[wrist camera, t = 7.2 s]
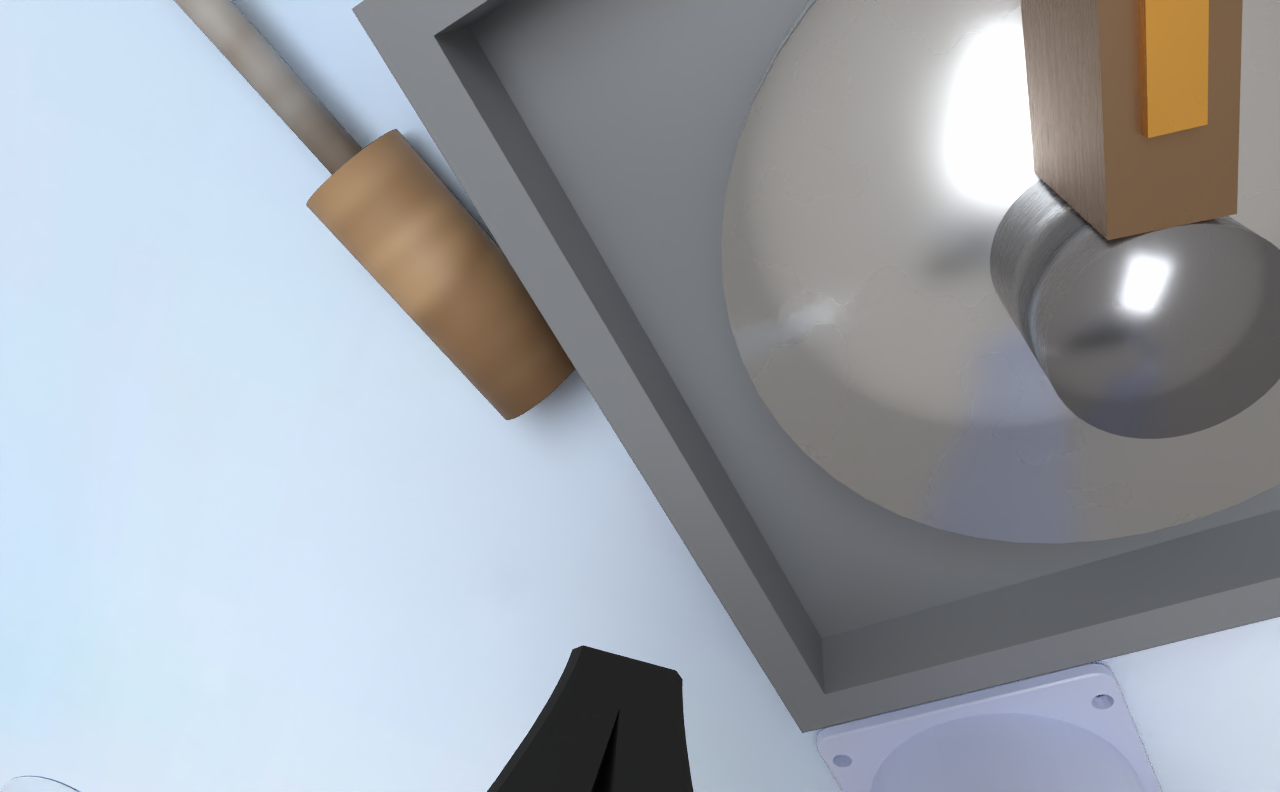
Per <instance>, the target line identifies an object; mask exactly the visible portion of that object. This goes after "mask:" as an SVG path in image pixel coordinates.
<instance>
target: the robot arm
mask: <svg viewBox="0 0 1280 792" xmlns="http://www.w3.org/2000/svg"><path fill="white" fill-rule="evenodd" d="M1105 694H1106V695H1105ZM1098 695H1104V696H1101V697H1096V696H1098ZM817 748H818V751H819V753H820V755H821V757H822V758H823V760H824V761H825V763H826V765H827V766H828V768H829V769H830V771H831V773H832V774H833V776H834V778H835V779H836V781H837V782H838V784H839V786H840V787H841V789H842V790H843V792H1162V790H1161V788H1160V785H1159V783H1158V780H1157V778H1156V776H1155V773H1154V771H1153V768H1152V766H1151V763H1150V761H1149V759H1148V756H1147V754H1146V751H1145V749H1144V746H1143V744H1142V741H1141V739H1140V737H1139V734H1138V732H1137V729H1136V727H1135V724H1134V722H1133V720H1132V717H1131V715H1130V712H1129V710H1128V707H1127V705H1126V702H1125V700H1124V698H1123V695H1122V693H1121V690H1120V688H1119V685H1118V683H1117V681H1116V678H1115V676H1114V674H1113V672H1112V671H1111V670H1110V668H1108V667H1106V666H1104V665H1100V664H1087V665H1083V666H1079V667H1074V668H1070V669H1066V670H1062V671H1058V672H1054V673H1050V674H1046V675H1042V676H1037V677H1033V678H1029V679H1025V680H1021V681H1017V682H1013V683H1009V684H1005V685H1000V686H996V687H992V688H988V689H984V690H980V691H976V692H972V693H968V694H963V695H959V696H955V697H951V698H947V699H943V700H939V701H935V702H931V703H926V704H922V705H918V706H914V707H910V708H906V709H902V710H898V711H894V712H889V713H885V714H881V715H877V716H873V717H869V718H865V719H861V720H857V721H852V722H848V723H844V724H840V725H836V726H832V727H828V728H826V729H823V730H821V731H820V732H819V733H818V736H817ZM840 755H844V756H840ZM487 792H693V787H692V781H691V774H690V767H689V760H688V753H687V745H686V736H685V727H684V715H683V698H682V678H681V677H680V675H679V674H678V672H677V671H675V670H672V669H668V668H664V667H661V666H657V665H653V664H650V663H646V662H642V661H639V660H635V659H631V658H628V657H624V656H620V655H616V654H613V653H609V652H605V651H602V650H598V649H594V648H591V647H587V646H580V647H578V648H575V649H573V650H572V653H571V655H570V658H569V660H568V663H567V665H566V667H565V670H564V672H563V674H562V676H561V678H560V680H559V682H558V684H557V685H556V687H555V689H554V691H553V693H552V695H551V696H550V698H549V700H548V702H547V703H546V705H545V707H544V708H543V710H542V712H541V713H540V715H539V716H538V718H537V720H536V721H535V723H534V725H533V726H532V728H531V729H530V731H529V733H528V734H527V735H526V737H525V738H524V740H523V741H522V743H521V744H520V746H519V747H518V749H517V750H516V751H515V753H514V754H513V756H512V757H511V759H510V760H509V762H508V763H507V764H506V766H505V767H504V769H503V770H502V772H501V773H500V775H499V776H498V777H497V779H496V780H495V782H494V783H493V784H492V786H491V787H490V788H489V790H488V791H487Z"/></svg>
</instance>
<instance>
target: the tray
mask: <svg viewBox="0 0 1280 792" xmlns="http://www.w3.org/2000/svg"><path fill="white" fill-rule="evenodd" d="M808 1H809V0H364V1H363V2H361V3H360V4H358V5H357V6H355V7H354V8H353V9H352V10H353V12H354V13H355V15H356V17H357V18H358V20H359V21H360V23H361V25H362V26H363V28H364V29H365V31H366V33H367V34H368V36H369V37H370V39H371V41H372V42H373V44H374V45H375V47H376V49H377V50H378V52H379V53H380V55H381V57H382V58H383V60H384V62H385V63H386V65H387V66H388V68H389V70H390V71H391V73H392V74H393V76H394V78H395V79H396V81H397V82H398V84H399V86H400V87H401V89H402V90H403V92H404V94H405V95H406V97H407V98H408V100H409V102H410V103H411V105H412V107H413V108H414V110H415V111H416V113H417V115H418V116H419V118H420V119H421V121H422V123H423V124H424V126H425V127H426V129H427V131H428V132H429V134H430V135H431V137H432V139H433V140H434V142H435V143H436V145H437V147H438V148H439V150H440V152H441V153H442V155H443V156H444V158H445V160H446V161H447V163H448V164H449V166H450V168H451V169H452V171H453V172H454V174H455V176H456V177H457V179H458V180H459V182H460V184H461V185H462V187H463V188H464V190H465V192H466V193H467V195H468V197H469V198H470V200H471V201H472V203H473V205H474V206H475V208H476V209H477V211H478V213H479V214H480V216H481V217H482V219H483V221H484V222H485V224H486V225H487V227H488V229H489V230H490V232H491V233H492V235H493V237H494V238H495V240H496V242H497V243H498V245H499V246H500V248H501V250H502V251H503V253H504V254H505V256H506V258H507V259H508V261H509V262H510V264H511V266H512V267H513V269H514V270H515V272H516V274H517V275H518V277H519V278H520V280H521V282H522V283H523V285H524V287H525V288H526V290H527V291H528V293H529V295H530V296H531V298H532V299H533V301H534V303H535V304H536V306H537V307H538V309H539V311H540V312H541V314H542V315H543V317H544V319H545V320H546V322H547V323H548V325H549V327H550V328H551V330H552V332H553V333H554V335H555V336H556V338H557V340H558V341H559V343H560V344H561V346H562V348H563V349H564V351H565V352H566V354H567V356H568V357H569V359H570V360H571V362H572V364H573V365H574V367H575V368H576V370H577V372H578V373H579V375H580V377H581V378H582V380H583V381H584V383H585V385H586V386H587V388H588V389H589V391H590V393H591V394H592V396H593V397H594V399H595V401H596V402H597V404H598V405H599V407H600V409H601V410H602V412H603V413H604V415H605V417H606V418H607V420H608V422H609V423H610V425H611V426H612V428H613V430H614V431H615V433H616V434H617V436H618V438H619V439H620V441H621V442H622V444H623V446H624V447H625V449H626V450H627V452H628V454H629V455H630V457H631V458H632V460H633V462H634V463H635V465H636V467H637V468H638V470H639V471H640V473H641V475H642V476H643V478H644V479H645V481H646V483H647V484H648V486H649V487H650V489H651V491H652V492H653V494H654V495H655V497H656V499H657V500H658V502H659V503H660V505H661V507H662V508H663V510H664V512H665V513H666V515H667V516H668V518H669V520H670V521H671V523H672V524H673V526H674V528H675V529H676V531H677V532H678V534H679V536H680V537H681V539H682V540H683V542H684V544H685V545H686V547H687V548H688V550H689V552H690V553H691V555H692V557H693V558H694V560H695V561H696V563H697V565H698V566H699V568H700V569H701V571H702V573H703V574H704V576H705V577H706V579H707V581H708V582H709V584H710V585H711V587H712V589H713V590H714V592H715V593H716V595H717V597H718V598H719V600H720V601H721V603H722V605H723V606H724V608H725V610H726V611H727V613H728V614H729V616H730V618H731V619H732V621H733V622H734V624H735V626H736V627H737V629H738V630H739V632H740V634H741V635H742V637H743V638H744V640H745V642H746V643H747V645H748V646H749V648H750V650H751V651H752V653H753V655H754V656H755V658H756V659H757V661H758V663H759V664H760V666H761V667H762V669H763V671H764V672H765V674H766V675H767V677H768V679H769V680H770V682H771V683H772V685H773V687H774V688H775V690H776V691H777V693H778V695H779V696H780V698H781V700H782V701H783V703H784V704H785V706H786V708H787V709H788V711H789V712H790V714H791V716H792V717H793V719H794V720H795V722H796V724H797V725H798V727H799V728H800V730H801V732H802V733H804V732H808V731H813V730H817V729H821V728H825V727H829V726H833V725H837V724H841V723H845V722H849V721H854V720H858V719H862V718H866V717H870V716H874V715H878V714H882V713H886V712H891V711H895V710H899V709H903V708H907V707H911V706H915V705H919V704H923V703H927V702H932V701H936V700H940V699H944V698H948V697H952V696H956V695H960V694H964V693H969V692H973V691H977V690H981V689H985V688H989V687H993V686H997V685H1001V684H1005V683H1010V682H1014V681H1018V680H1022V679H1026V678H1030V677H1034V676H1038V675H1042V674H1047V673H1051V672H1055V671H1059V670H1063V669H1067V668H1071V667H1075V666H1079V665H1083V664H1088V663H1092V662H1096V661H1100V660H1104V659H1108V658H1112V657H1116V656H1120V655H1125V654H1129V653H1133V652H1137V651H1141V650H1145V649H1149V648H1153V647H1157V646H1161V645H1166V644H1170V643H1174V642H1178V641H1182V640H1186V639H1190V638H1194V637H1198V636H1203V635H1207V634H1211V633H1215V632H1219V631H1223V630H1227V629H1231V628H1235V627H1239V626H1244V625H1248V624H1252V623H1256V622H1260V621H1264V620H1268V619H1272V618H1276V617H1280V484H1279V485H1277V486H1275V487H1273V488H1271V489H1268V490H1266V491H1264V492H1262V493H1260V494H1258V495H1256V496H1254V497H1252V498H1249V499H1247V500H1245V501H1243V502H1241V503H1239V504H1237V505H1234V506H1231V507H1229V508H1226V509H1223V510H1220V511H1218V512H1215V513H1212V514H1210V515H1207V516H1204V517H1201V518H1199V519H1196V520H1193V521H1190V522H1186V523H1182V524H1179V525H1175V526H1171V527H1167V528H1163V529H1160V530H1156V531H1152V532H1148V533H1143V534H1138V535H1132V536H1126V537H1120V538H1114V539H1108V540H1102V541H1088V542H1074V543H1060V544H1054V543H1016V542H1008V541H1000V540H992V539H984V538H976V537H971V536H967V535H963V534H959V533H954V532H950V531H946V530H942V529H937V528H934V527H931V526H929V525H926V524H923V523H920V522H917V521H914V520H912V519H909V518H906V517H903V516H900V515H898V514H896V513H894V512H892V511H890V510H888V509H886V508H884V507H882V506H880V505H878V504H876V503H874V502H872V501H870V500H867V499H865V498H864V497H862V496H861V495H859V494H858V493H856V492H855V491H853V490H852V489H850V488H848V487H847V486H845V485H844V484H842V483H841V482H839V481H838V480H836V479H835V478H833V477H832V476H831V475H830V474H829V473H827V472H826V471H825V470H824V469H823V468H821V467H820V466H819V465H818V464H817V463H816V462H814V461H813V460H812V459H811V458H810V457H809V456H807V455H806V454H805V453H804V452H803V451H802V450H801V448H800V447H799V446H798V445H797V444H796V443H795V442H794V441H793V440H792V439H791V437H790V436H789V435H788V434H787V433H786V432H785V431H784V430H783V429H782V427H781V426H780V425H779V424H778V422H777V421H776V419H775V418H774V416H773V415H772V413H771V412H770V410H769V409H768V407H767V406H766V404H765V403H764V402H763V400H762V399H761V397H760V396H759V394H758V392H757V390H756V388H755V386H754V384H753V382H752V380H751V378H750V376H749V374H748V372H747V370H746V368H745V366H744V364H743V362H742V359H741V356H740V353H739V350H738V347H737V344H736V341H735V338H734V335H733V332H732V329H731V326H730V322H729V317H728V311H727V305H726V300H725V294H724V289H723V283H722V258H721V233H722V223H723V213H724V202H725V194H726V190H727V186H728V181H729V177H730V173H731V168H732V164H733V160H734V155H735V151H736V147H737V142H738V138H739V134H740V130H741V127H742V125H743V122H744V119H745V116H746V114H747V111H748V108H749V106H750V103H751V100H752V98H753V95H754V92H755V89H756V87H757V85H758V83H759V81H760V79H761V77H762V75H763V74H764V72H765V70H766V68H767V66H768V64H769V62H770V60H771V58H772V56H773V54H774V52H775V50H776V48H777V46H778V45H779V43H780V42H781V40H782V39H783V37H784V36H785V34H786V33H787V31H788V30H789V28H790V27H791V26H792V24H793V23H794V21H795V20H796V18H797V17H798V15H799V14H800V12H801V11H802V9H803V8H804V6H805V5H806V3H807V2H808Z"/></svg>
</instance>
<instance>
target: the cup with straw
mask: <svg viewBox="0 0 1280 792" xmlns="http://www.w3.org/2000/svg"><path fill="white" fill-rule="evenodd" d="M0 792H77V791H75V790H74V789H72V788H70V787H67V786H65V785H63V784H61V783H58V782H55V781H52V780H49V779H44V778H40V777H30V776H26V777H18V778H14V779H11V780H10V781H8V782H7V783H6V784H5V785H4V786H3V788H2V789H1V791H0Z"/></svg>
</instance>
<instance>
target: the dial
mask: <svg viewBox="0 0 1280 792" xmlns="http://www.w3.org/2000/svg"><path fill="white" fill-rule="evenodd" d="M721 258H722V283H723V289H724V294H725V300H726V305H727V311H728V317H729V322H730V326H731V329H732V332H733V335H734V338H735V341H736V344H737V347H738V350H739V353H740V356H741V359H742V362H743V364H744V366H745V368H746V370H747V372H748V374H749V376H750V378H751V380H752V382H753V384H754V386H755V388H756V390H757V392H758V394H759V396H760V397H761V399H762V400H763V402H764V403H765V404H766V406H767V407H768V409H769V410H770V412H771V413H772V415H773V416H774V418H775V419H776V421H777V422H778V424H779V425H780V426H781V427H782V429H783V430H784V431H785V432H786V433H787V434H788V435H789V436H790V437H791V439H792V440H793V441H794V442H795V443H796V444H797V445H798V446H799V447H800V448H801V450H802V451H803V452H804V453H805V454H806V455H807V456H809V457H810V458H811V459H812V460H813V461H814V462H816V463H817V464H818V465H819V466H820V467H821V468H823V469H824V470H825V471H826V472H827V473H829V474H830V475H831V476H832V477H833V478H835V479H836V480H838V481H839V482H841V483H842V484H844V485H845V486H847V487H848V488H850V489H852V490H853V491H855V492H856V493H858V494H859V495H861V496H862V497H864V498H865V499H867V500H870V501H872V502H874V503H876V504H878V505H880V506H882V507H884V508H886V509H888V510H890V511H892V512H894V513H896V514H898V515H900V516H903V517H906V518H909V519H912V520H914V521H917V522H920V523H923V524H926V525H929V526H931V527H934V528H937V529H942V530H946V531H950V532H954V533H959V534H963V535H967V536H971V537H976V538H984V539H992V540H1000V541H1008V542H1016V543H1054V544H1060V543H1074V542H1088V541H1102V540H1108V539H1114V538H1120V537H1126V536H1132V535H1138V534H1143V533H1148V532H1152V531H1156V530H1160V529H1163V528H1167V527H1171V526H1175V525H1179V524H1182V523H1186V522H1190V521H1193V520H1196V519H1199V518H1201V517H1204V516H1207V515H1210V514H1212V513H1215V512H1218V511H1220V510H1223V509H1226V508H1229V507H1231V506H1234V505H1237V504H1239V503H1241V502H1243V501H1245V500H1247V499H1249V498H1252V497H1254V496H1256V495H1258V494H1260V493H1262V492H1264V491H1266V490H1268V489H1271V488H1273V487H1275V486H1277V485H1279V484H1280V0H809V1H808V2H807V3H806V5H805V6H804V8H803V9H802V11H801V12H800V14H799V15H798V17H797V18H796V20H795V21H794V23H793V24H792V26H791V27H790V28H789V30H788V31H787V33H786V34H785V36H784V37H783V39H782V40H781V42H780V43H779V45H778V46H777V48H776V50H775V52H774V54H773V56H772V58H771V60H770V62H769V64H768V66H767V68H766V70H765V72H764V74H763V75H762V77H761V79H760V81H759V83H758V85H757V87H756V89H755V92H754V95H753V98H752V100H751V103H750V106H749V108H748V111H747V114H746V116H745V119H744V122H743V125H742V127H741V130H740V134H739V138H738V142H737V147H736V151H735V155H734V160H733V164H732V168H731V173H730V177H729V181H728V186H727V190H726V194H725V202H724V213H723V223H722V233H721Z"/></svg>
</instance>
